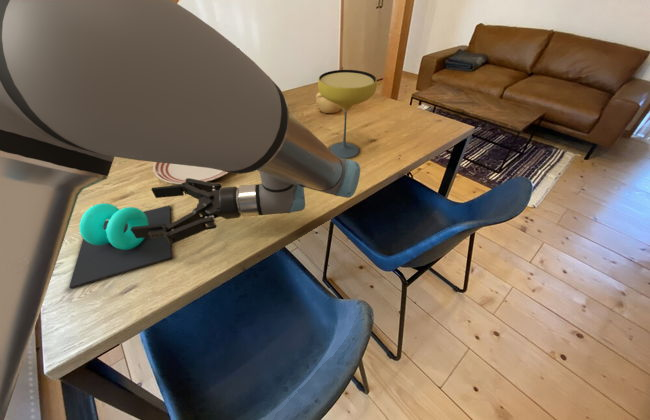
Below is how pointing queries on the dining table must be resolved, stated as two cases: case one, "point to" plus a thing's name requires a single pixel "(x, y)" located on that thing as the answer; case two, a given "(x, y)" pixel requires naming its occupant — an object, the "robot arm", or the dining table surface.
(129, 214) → the donuts
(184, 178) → the dinner plate
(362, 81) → the cocktail glass
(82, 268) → the placemat
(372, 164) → the dining table surface
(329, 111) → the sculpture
